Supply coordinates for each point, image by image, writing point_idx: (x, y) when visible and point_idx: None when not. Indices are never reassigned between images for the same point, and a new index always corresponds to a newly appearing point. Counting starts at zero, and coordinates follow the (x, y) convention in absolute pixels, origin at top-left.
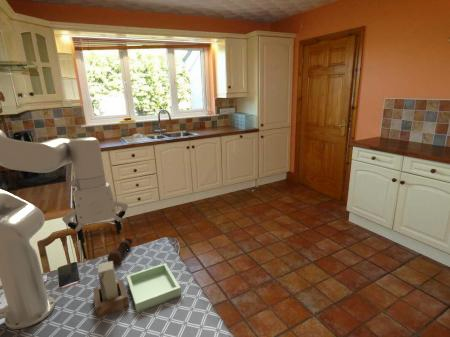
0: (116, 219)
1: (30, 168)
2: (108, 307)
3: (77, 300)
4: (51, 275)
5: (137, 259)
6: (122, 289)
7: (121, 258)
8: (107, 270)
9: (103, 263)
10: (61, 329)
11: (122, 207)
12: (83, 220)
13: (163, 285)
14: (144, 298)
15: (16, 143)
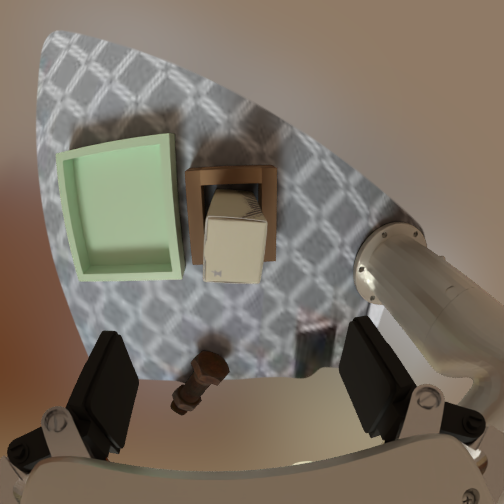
0: (71, 431)
1: None
2: (242, 167)
3: (310, 259)
4: None
5: (158, 347)
6: (196, 212)
7: (194, 359)
8: (228, 219)
9: (240, 278)
10: (347, 173)
11: (9, 493)
12: (440, 474)
13: (96, 205)
14: (147, 174)
15: None
